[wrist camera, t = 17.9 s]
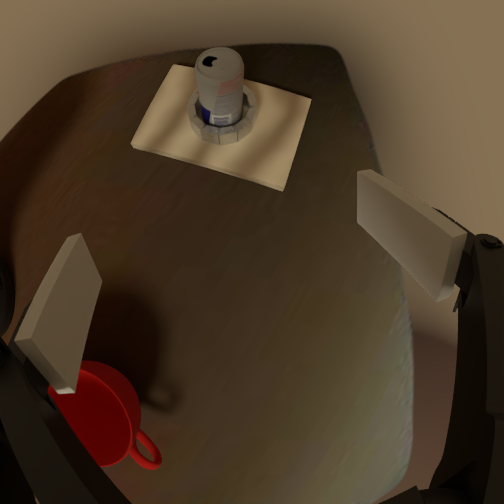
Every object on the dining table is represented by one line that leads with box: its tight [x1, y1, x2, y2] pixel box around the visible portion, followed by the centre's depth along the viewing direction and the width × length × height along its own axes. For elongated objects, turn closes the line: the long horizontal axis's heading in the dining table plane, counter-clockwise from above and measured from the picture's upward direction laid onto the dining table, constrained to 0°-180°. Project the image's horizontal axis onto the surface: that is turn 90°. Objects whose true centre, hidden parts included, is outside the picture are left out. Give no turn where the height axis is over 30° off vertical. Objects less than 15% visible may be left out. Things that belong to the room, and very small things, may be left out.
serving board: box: [131, 65, 312, 191], centre depth 41 cm, size 22×15×2 cm
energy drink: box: [195, 47, 244, 128], centre depth 34 cm, size 5×5×12 cm
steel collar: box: [187, 84, 258, 146], centre depth 39 cm, size 9×9×3 cm
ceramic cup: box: [48, 360, 162, 470], centre depth 32 cm, size 13×17×10 cm
